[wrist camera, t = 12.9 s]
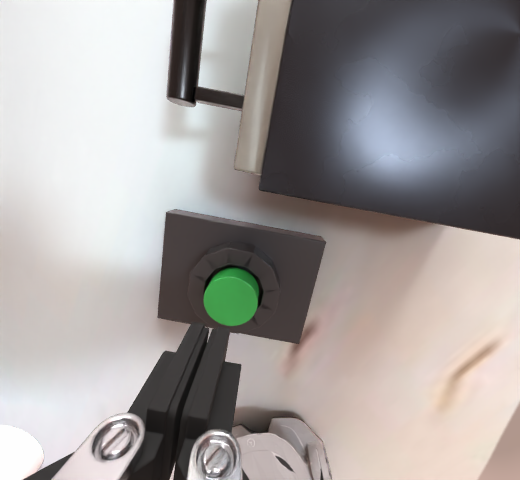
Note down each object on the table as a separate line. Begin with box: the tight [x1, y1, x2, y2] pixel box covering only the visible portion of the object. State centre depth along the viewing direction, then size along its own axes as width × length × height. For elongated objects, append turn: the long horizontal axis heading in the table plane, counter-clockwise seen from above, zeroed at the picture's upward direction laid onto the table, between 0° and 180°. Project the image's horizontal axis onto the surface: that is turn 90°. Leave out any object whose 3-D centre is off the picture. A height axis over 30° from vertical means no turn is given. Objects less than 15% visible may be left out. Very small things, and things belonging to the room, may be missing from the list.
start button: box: [203, 268, 259, 326], centre depth 17 cm, size 4×4×2 cm
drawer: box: [167, 0, 292, 175], centre depth 12 cm, size 18×11×8 cm, turn 80°
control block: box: [158, 209, 326, 344], centre depth 19 cm, size 12×9×4 cm
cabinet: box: [259, 0, 520, 239], centre depth 12 cm, size 15×13×10 cm
